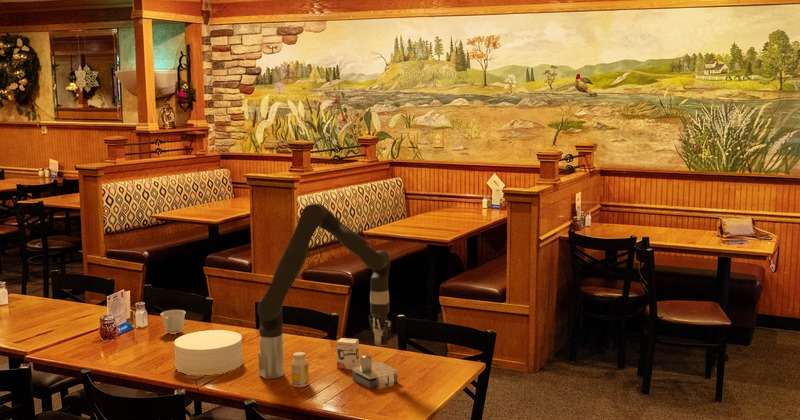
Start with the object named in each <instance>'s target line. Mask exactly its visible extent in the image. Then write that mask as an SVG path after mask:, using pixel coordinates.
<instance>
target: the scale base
mask: <svg viewBox="0 0 800 420" xmlns="http://www.w3.org/2000/svg"><path fill="white" fill-rule="evenodd" d="M351 373H352V374H351V375H352V381H353V382H355V383H358V384H360V385H361V386H363V387H365V388H367V389H368V390H373V389H378V390H380V389H386V388H389V387H394V386H395V384H397V383H398V382H399V381H398V374H397V373H393V372H388V373H384V374H380V375H376V378H373V379H368V378H366V377H364V376H362V375H360V374H358V373H356V372H354V371H353V372H351Z"/></svg>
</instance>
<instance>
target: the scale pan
mask: <svg viewBox="0 0 800 420" xmlns="http://www.w3.org/2000/svg"><path fill="white" fill-rule="evenodd" d="M352 372H353V373H354V372H356V373H358V374H360V375H362V376H364V377H366V378H368V379H373V378H376V375H380V374H384V373H388V372H393V373H394V374H397V373H398V369H396V368H395V367H392V366H391V365H388V364H385V363H384V362H381V361H376V362H372V371H371V372H369V373H363V372H361V368H360V365H359V366H358V367H354V368H352Z"/></svg>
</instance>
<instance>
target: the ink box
mask: <svg viewBox="0 0 800 420" xmlns="http://www.w3.org/2000/svg"><path fill="white" fill-rule="evenodd" d="M359 342H360V341H359V339H358V338H347V337H346V338H345V337H344V338H343V337H341V338H339V339H338V340H337V341H336V369H345V370H352V368H354V367H358V366H360V347H359V346H360V345H359V344H360V343H359Z"/></svg>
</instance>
